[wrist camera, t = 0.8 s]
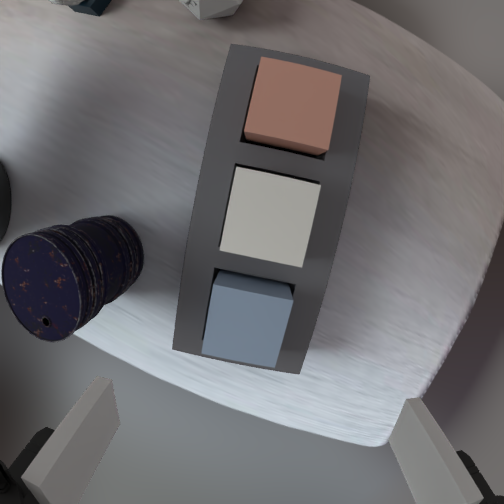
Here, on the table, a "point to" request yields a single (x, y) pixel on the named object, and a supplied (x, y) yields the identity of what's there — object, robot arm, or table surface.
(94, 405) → the robot arm
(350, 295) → the table surface
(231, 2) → the die
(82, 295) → the storage jar
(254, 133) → the terracotta key
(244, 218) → the white key
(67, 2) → the watch
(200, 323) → the keypad housing
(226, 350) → the slate blue key
